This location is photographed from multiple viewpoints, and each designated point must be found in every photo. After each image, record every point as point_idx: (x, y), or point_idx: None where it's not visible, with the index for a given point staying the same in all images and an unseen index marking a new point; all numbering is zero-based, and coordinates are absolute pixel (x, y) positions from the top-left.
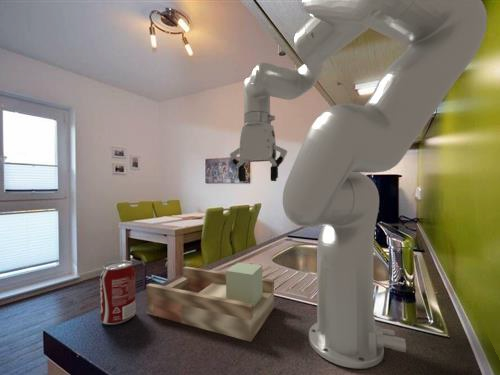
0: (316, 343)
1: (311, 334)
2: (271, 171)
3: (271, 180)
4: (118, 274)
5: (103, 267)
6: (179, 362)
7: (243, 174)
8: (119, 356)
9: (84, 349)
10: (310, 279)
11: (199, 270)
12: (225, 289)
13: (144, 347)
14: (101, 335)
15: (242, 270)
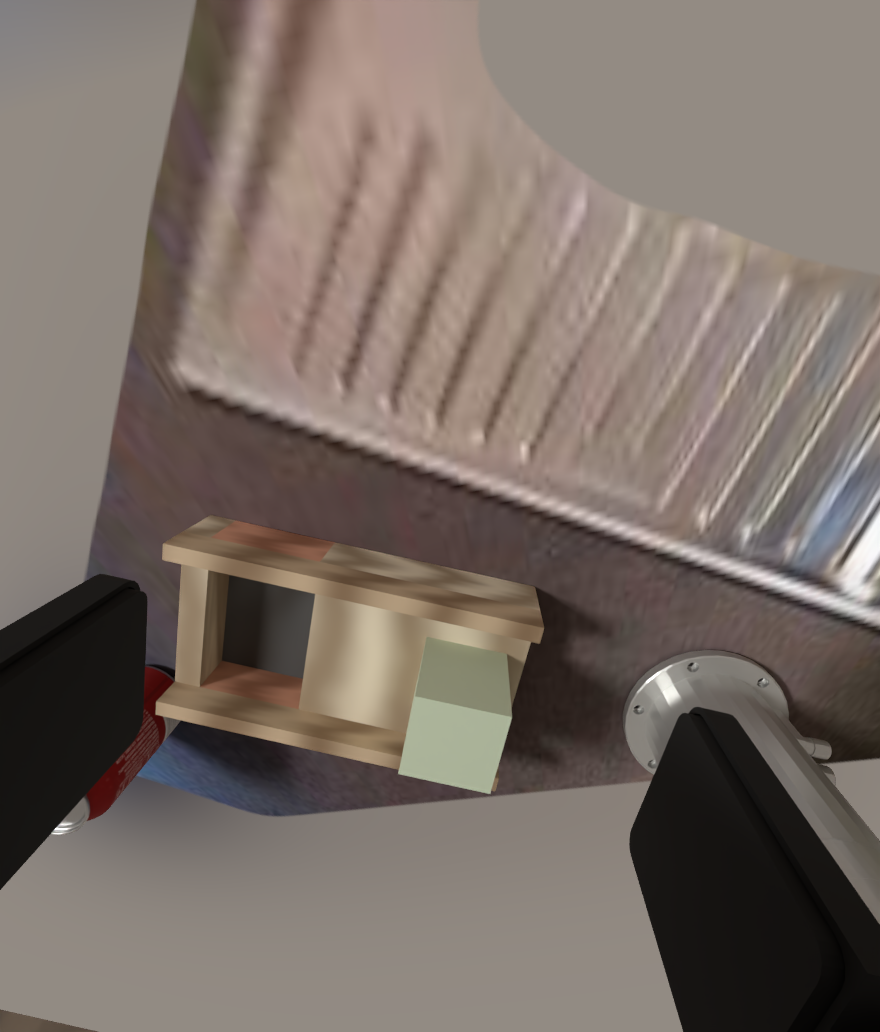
0: (637, 749)
1: (631, 723)
2: (694, 1016)
3: (640, 843)
4: (95, 816)
5: None
6: (375, 792)
7: (58, 746)
8: (262, 791)
9: (184, 783)
10: (689, 322)
11: (242, 576)
12: (379, 624)
13: (288, 767)
14: (175, 747)
15: (451, 766)
